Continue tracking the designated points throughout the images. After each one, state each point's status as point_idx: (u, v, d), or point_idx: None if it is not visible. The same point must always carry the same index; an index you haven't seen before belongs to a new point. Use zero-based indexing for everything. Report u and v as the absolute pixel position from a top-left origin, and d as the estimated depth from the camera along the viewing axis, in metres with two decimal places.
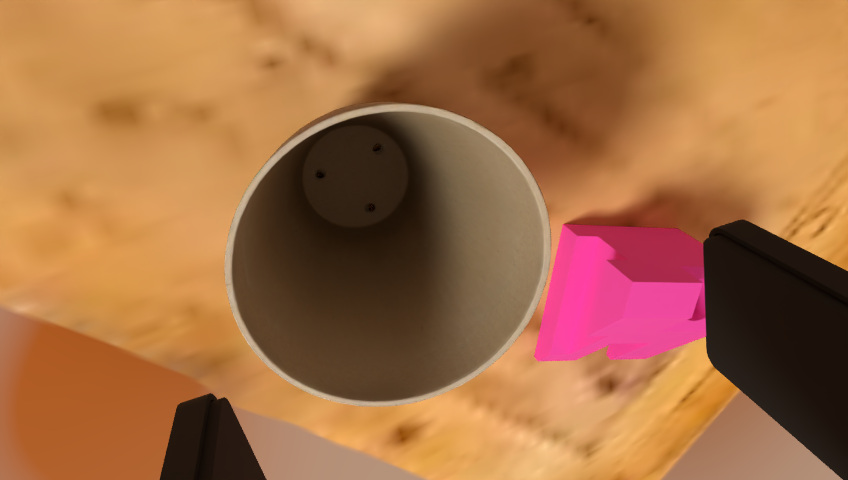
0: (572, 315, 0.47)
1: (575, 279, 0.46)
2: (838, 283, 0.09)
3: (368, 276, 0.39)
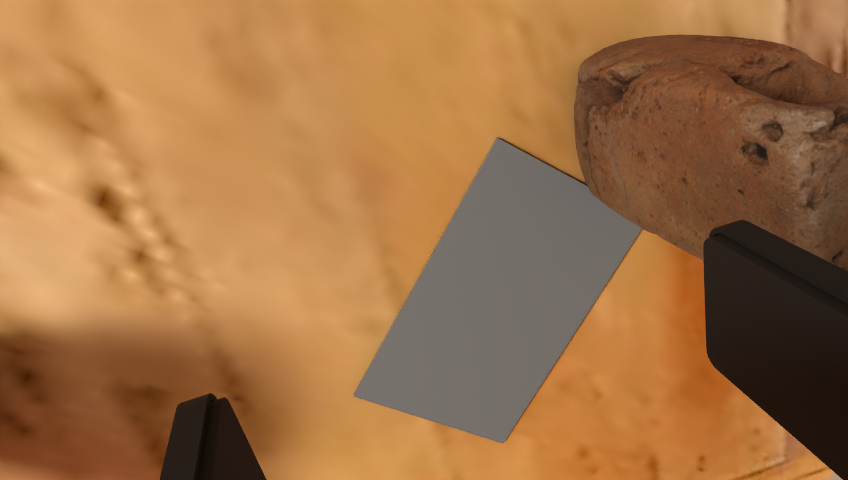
0: None
1: None
2: (838, 283, 0.09)
3: None
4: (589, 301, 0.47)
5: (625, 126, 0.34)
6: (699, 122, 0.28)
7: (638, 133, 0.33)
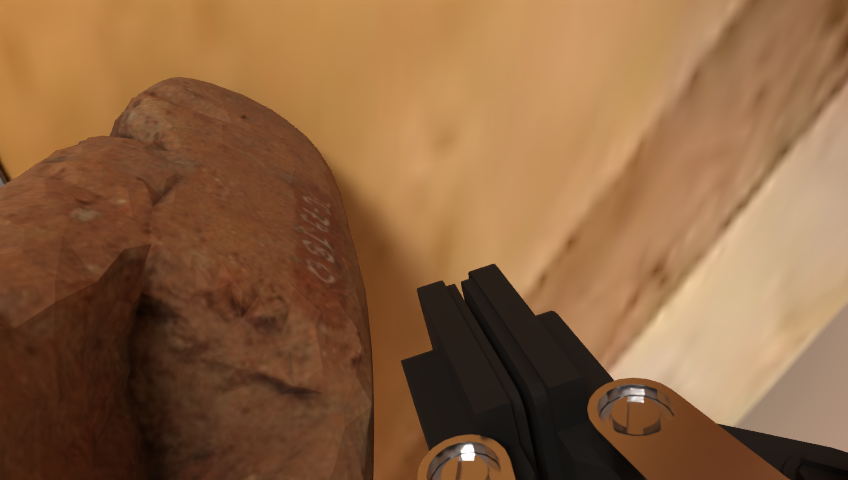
0: None
1: None
2: (524, 333, 0.09)
3: None
4: None
5: None
6: None
7: None
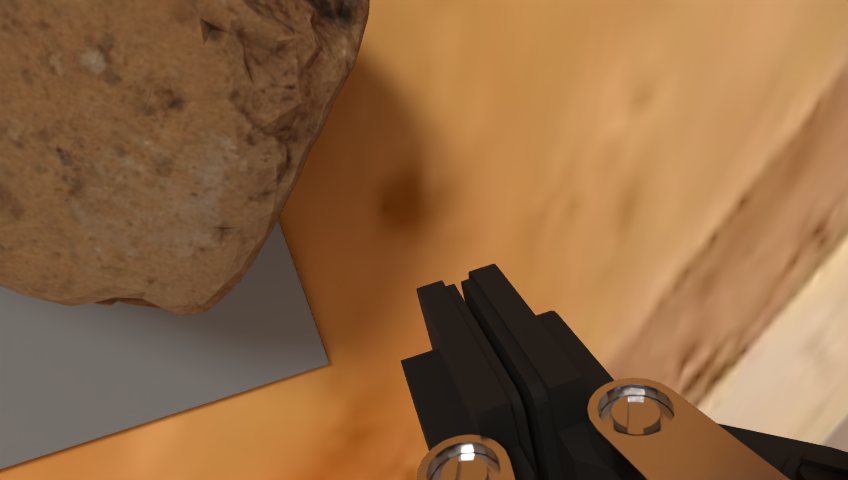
0: None
1: None
2: (524, 333, 0.09)
3: None
4: (134, 416, 0.24)
5: None
6: None
7: None
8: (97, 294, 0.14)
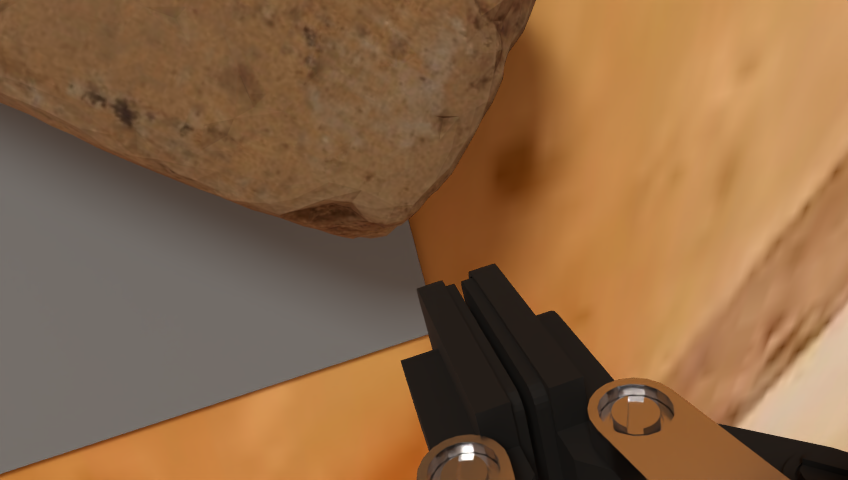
0: None
1: None
2: (524, 333, 0.09)
3: None
4: (251, 381, 0.24)
5: None
6: None
7: None
8: (313, 194, 0.14)
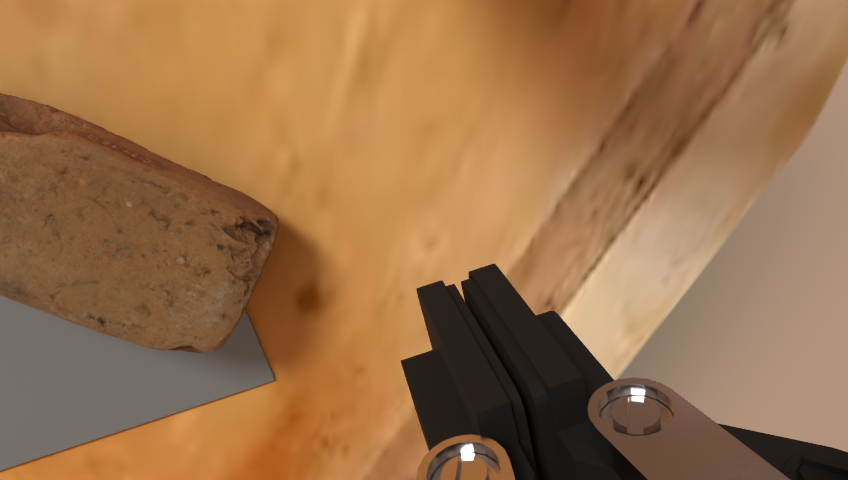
0: None
1: None
2: (525, 333, 0.09)
3: None
4: (174, 408, 0.46)
5: None
6: None
7: None
8: (174, 344, 0.36)
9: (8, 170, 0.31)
